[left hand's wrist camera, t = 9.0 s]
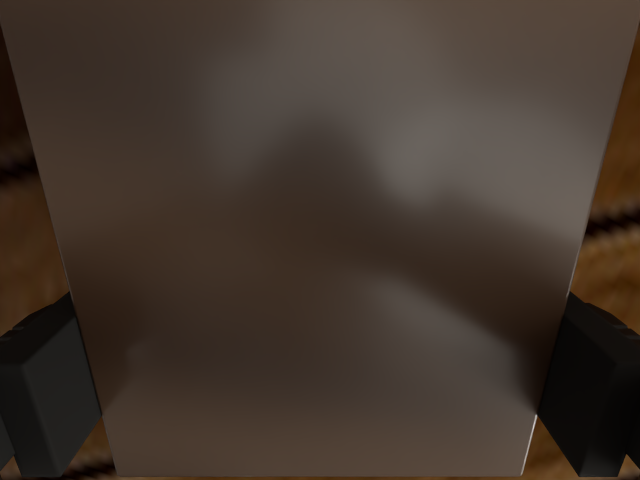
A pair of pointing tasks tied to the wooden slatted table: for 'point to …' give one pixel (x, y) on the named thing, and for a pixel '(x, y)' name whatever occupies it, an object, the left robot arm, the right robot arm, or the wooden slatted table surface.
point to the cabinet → (319, 219)
